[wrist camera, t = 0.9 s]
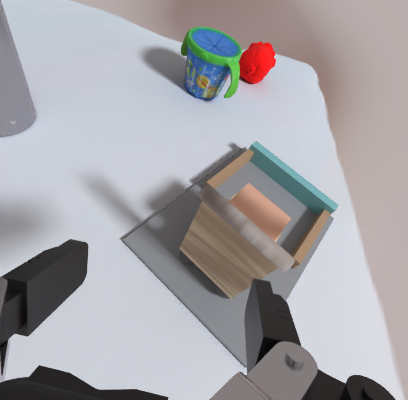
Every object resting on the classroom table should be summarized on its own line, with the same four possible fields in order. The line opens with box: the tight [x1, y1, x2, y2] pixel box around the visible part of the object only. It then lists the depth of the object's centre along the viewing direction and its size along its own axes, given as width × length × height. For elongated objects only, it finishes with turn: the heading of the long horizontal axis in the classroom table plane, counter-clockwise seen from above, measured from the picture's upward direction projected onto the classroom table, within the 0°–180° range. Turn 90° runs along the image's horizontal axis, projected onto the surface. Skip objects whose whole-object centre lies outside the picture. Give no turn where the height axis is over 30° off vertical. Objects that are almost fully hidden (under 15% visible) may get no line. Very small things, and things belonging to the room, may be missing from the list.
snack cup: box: [181, 27, 242, 100], centre depth 51 cm, size 16×10×10 cm
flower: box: [239, 42, 276, 84], centre depth 60 cm, size 8×8×8 cm
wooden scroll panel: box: [179, 183, 295, 299], centre depth 28 cm, size 11×9×14 cm
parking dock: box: [123, 141, 338, 367], centre depth 36 cm, size 28×20×4 cm
